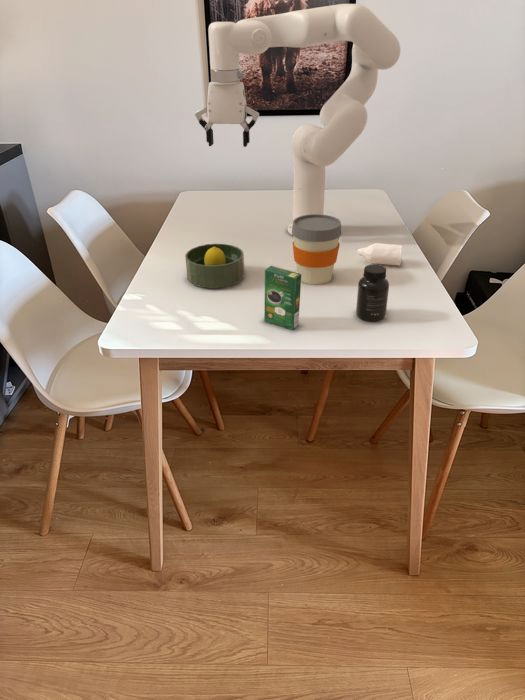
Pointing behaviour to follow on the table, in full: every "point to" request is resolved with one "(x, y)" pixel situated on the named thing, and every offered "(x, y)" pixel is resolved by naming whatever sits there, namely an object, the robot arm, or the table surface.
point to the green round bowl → (218, 273)
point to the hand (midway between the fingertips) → (228, 145)
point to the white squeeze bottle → (382, 254)
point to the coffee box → (282, 297)
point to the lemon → (214, 257)
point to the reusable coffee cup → (316, 246)
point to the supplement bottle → (372, 294)
